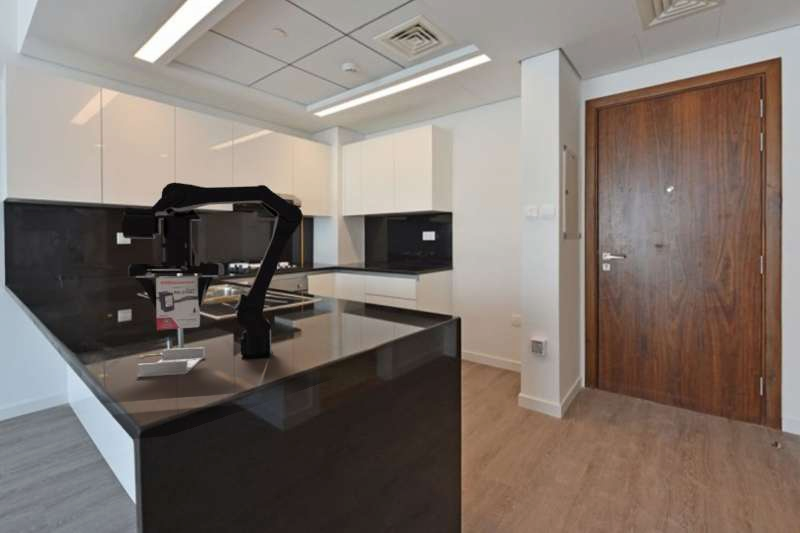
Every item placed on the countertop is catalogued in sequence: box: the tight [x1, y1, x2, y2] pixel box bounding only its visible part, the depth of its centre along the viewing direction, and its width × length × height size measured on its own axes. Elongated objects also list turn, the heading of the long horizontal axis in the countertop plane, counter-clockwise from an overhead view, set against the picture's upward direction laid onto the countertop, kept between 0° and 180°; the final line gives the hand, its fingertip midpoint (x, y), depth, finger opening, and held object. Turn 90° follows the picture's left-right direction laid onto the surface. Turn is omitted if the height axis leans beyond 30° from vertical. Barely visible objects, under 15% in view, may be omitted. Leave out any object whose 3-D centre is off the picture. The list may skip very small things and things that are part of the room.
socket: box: [137, 346, 206, 378], centre depth 88 cm, size 9×14×2 cm, turn 13°
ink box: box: [155, 275, 201, 331], centre depth 90 cm, size 8×5×12 cm, turn 115°
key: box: [139, 352, 162, 360], centre depth 97 cm, size 6×2×1 cm, turn 123°
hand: (178, 307), depth 90 cm, fingers closed on ink box, 9 cm apart
